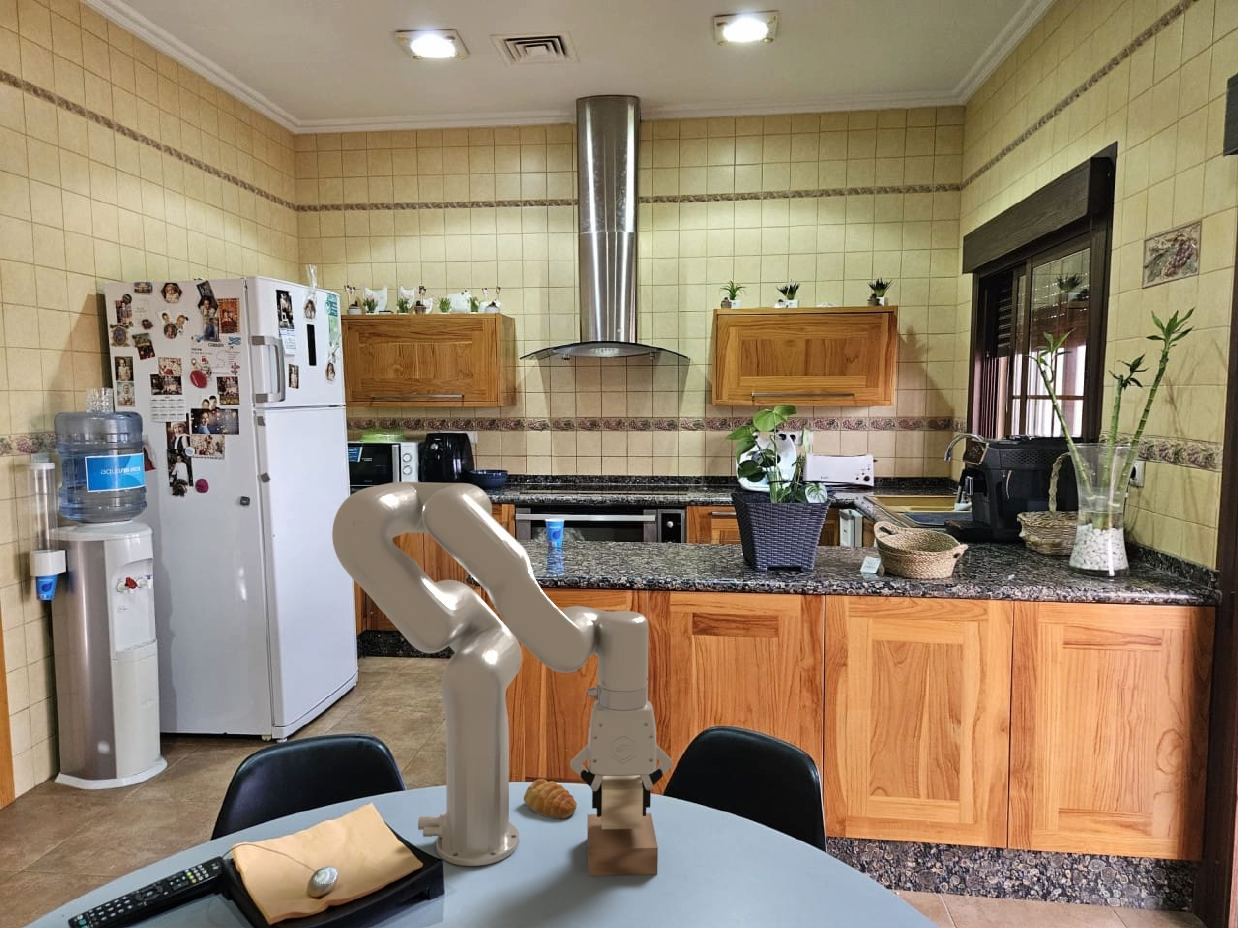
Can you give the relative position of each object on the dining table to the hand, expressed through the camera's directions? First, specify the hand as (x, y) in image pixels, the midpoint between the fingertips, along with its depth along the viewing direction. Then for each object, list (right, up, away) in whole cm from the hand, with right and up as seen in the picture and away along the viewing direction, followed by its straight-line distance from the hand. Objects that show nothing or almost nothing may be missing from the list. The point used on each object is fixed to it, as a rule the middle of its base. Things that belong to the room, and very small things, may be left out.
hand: (621, 810), depth 120 cm
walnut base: (0, -7, 0) cm, 7 cm away
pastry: (-12, -6, +15) cm, 21 cm away
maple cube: (0, -1, 0) cm, 1 cm away
